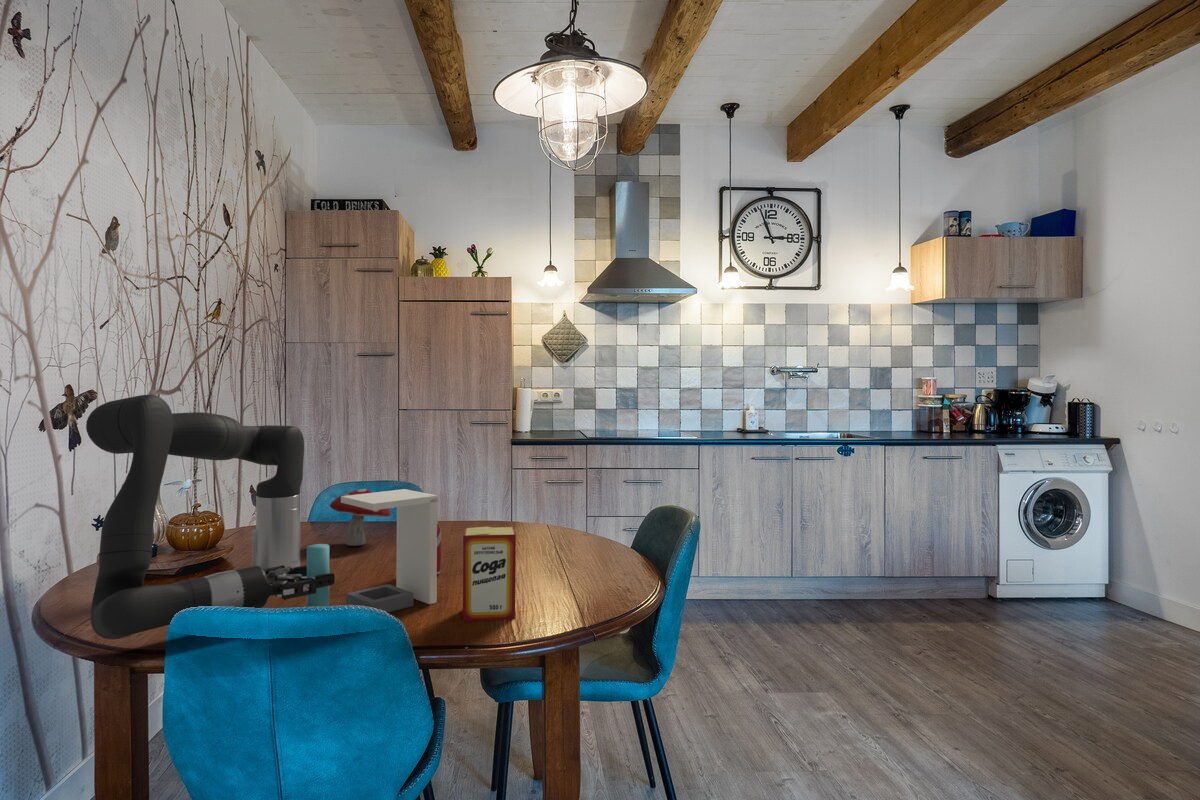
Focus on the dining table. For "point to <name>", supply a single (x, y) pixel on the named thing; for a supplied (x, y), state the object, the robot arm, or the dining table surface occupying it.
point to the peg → (318, 572)
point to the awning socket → (404, 549)
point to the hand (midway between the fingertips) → (323, 573)
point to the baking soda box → (489, 573)
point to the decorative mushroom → (357, 517)
